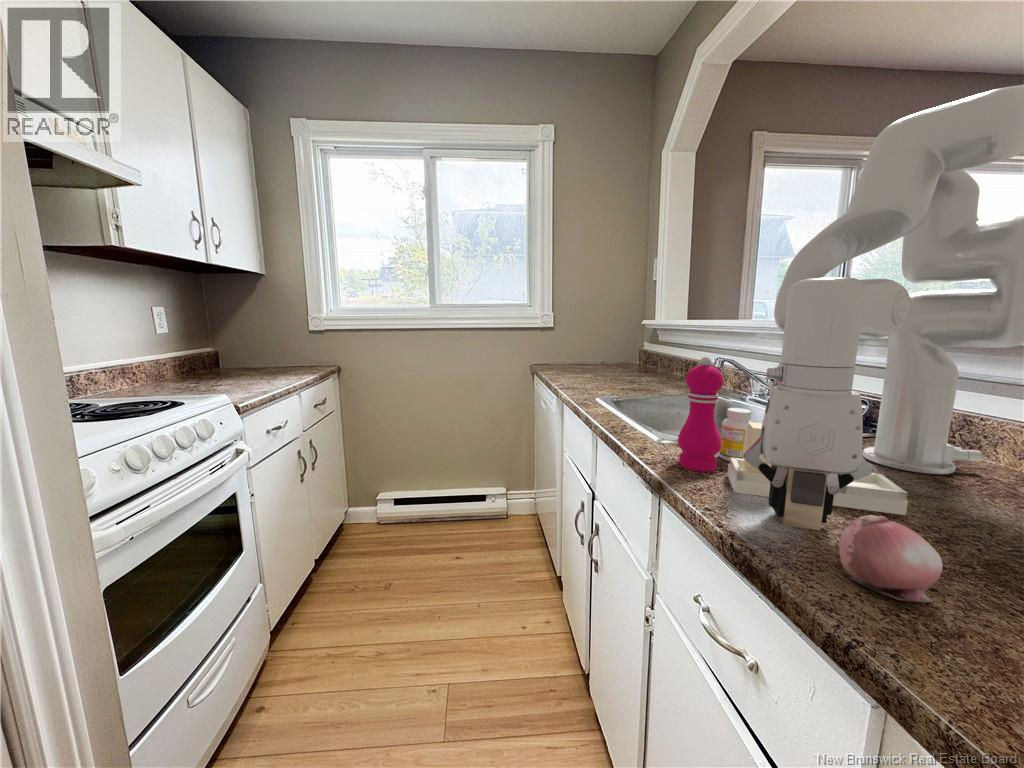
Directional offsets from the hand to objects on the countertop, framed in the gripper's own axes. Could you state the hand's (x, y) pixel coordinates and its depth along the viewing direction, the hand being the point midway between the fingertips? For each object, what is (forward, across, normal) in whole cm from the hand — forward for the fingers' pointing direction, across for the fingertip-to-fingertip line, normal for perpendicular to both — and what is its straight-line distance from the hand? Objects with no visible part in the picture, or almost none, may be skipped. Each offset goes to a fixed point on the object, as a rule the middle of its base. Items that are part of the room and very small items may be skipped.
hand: (798, 514), depth 55 cm
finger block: (+1, 0, 0) cm, 1 cm away
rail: (+1, +4, +11) cm, 12 cm away
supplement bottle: (+1, -4, +25) cm, 25 cm away
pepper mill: (+1, -11, +18) cm, 21 cm away
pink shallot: (+1, +4, -13) cm, 14 cm away
